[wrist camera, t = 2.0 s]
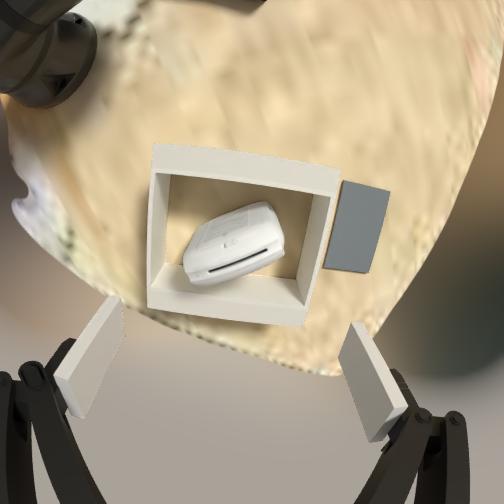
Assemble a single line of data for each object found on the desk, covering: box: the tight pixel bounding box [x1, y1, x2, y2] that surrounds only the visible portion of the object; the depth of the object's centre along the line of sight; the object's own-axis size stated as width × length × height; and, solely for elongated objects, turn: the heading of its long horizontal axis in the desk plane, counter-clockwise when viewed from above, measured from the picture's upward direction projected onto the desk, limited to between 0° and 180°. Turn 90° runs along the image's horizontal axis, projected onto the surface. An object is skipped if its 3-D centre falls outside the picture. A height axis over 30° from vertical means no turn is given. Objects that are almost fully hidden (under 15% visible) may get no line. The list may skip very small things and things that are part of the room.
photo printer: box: [183, 201, 285, 286], centre depth 31 cm, size 10×4×12 cm, turn 111°
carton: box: [147, 143, 341, 327], centre depth 34 cm, size 19×19×7 cm
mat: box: [324, 180, 390, 273], centre depth 37 cm, size 7×12×1 cm, turn 172°
